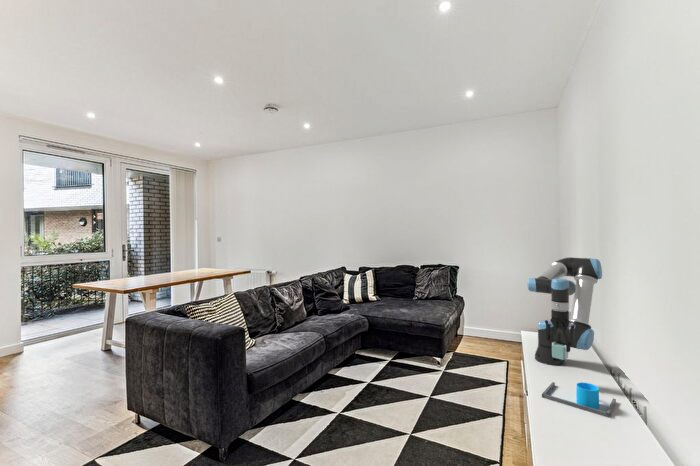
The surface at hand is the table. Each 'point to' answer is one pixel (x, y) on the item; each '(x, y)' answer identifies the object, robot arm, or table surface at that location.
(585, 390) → the mug
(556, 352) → the block
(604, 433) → the table surface
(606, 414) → the tray frame
